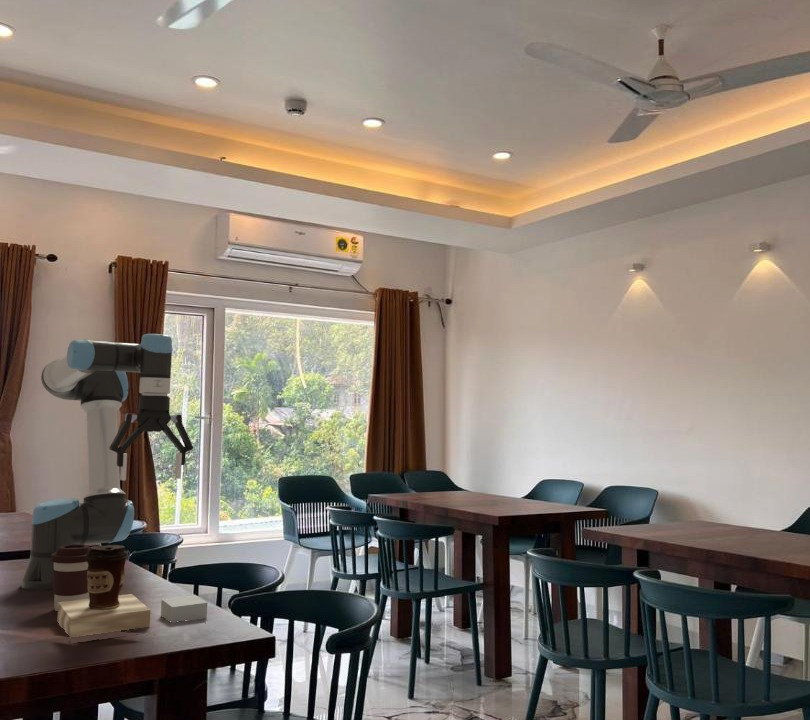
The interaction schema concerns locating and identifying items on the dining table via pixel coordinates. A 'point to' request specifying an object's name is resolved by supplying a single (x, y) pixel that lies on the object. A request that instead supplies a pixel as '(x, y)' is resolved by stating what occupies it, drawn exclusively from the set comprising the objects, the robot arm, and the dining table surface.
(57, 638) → the dining table surface
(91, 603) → the coffee cup
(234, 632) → the dining table surface
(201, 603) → the grey block
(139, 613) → the beech block
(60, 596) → the coffee cup
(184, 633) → the dining table surface
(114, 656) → the dining table surface
